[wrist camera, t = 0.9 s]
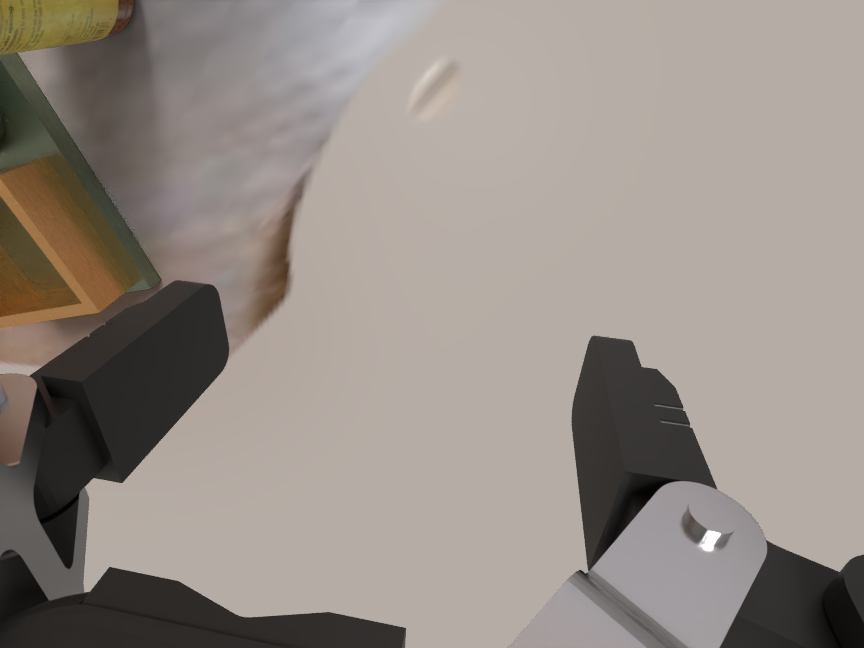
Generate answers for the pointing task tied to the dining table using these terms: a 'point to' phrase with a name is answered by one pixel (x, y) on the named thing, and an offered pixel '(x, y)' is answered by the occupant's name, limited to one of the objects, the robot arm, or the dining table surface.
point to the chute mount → (55, 216)
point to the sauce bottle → (59, 22)
